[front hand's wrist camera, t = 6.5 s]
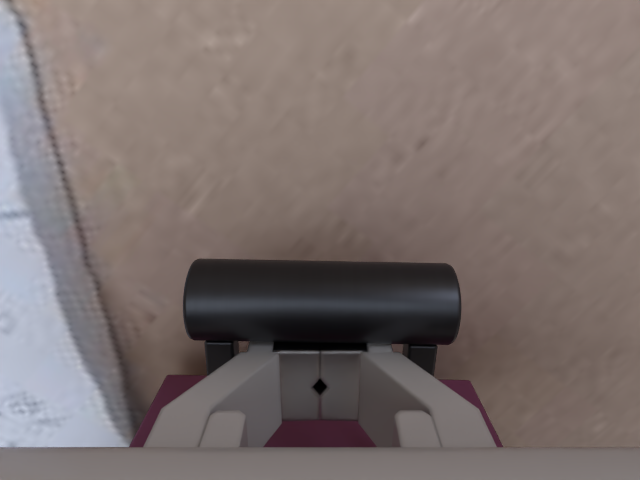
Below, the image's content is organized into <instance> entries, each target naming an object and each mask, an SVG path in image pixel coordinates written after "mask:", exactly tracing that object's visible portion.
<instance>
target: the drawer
mask: <svg viewBox="0 0 640 480" xmlns="http://www.w3.org/2000/svg"><path fill="white" fill-rule="evenodd" d="M183 317H184V324H185V329H186V332H187V334H188V336H189V337H190V338H191V339H193V340H206V341H205V354H206V365H207V376H208V375H209V374H211V373H212V372H214V371H215V370H217V369H218V368H219V367H221V366H222V365H224V364H225V363H226V362H228V361H229V360H231V359H232V358H233V357H235V356H236V355H238V354H239V345H238V341H262V342H317V343H372V344H403V353H402V355H404V356H405V357H407V358H408V359H409V360H411V361H412V362H414V363H415V364H416V365H418V366H419V367H421V368H422V369H423V370H425V371H426V372H428V373H429V374H430V375H432V376H434V369H435V361H436V353H437V345H449V344H451V343H453V342H454V341H455V339H456V337H457V334H458V331H459V326H460V320H461V294H460V287H459V283H458V279H457V276H456V273H455V271H454V269H453V268H452V266H450V265H448V264H446V263H398V262H345V261H292V260H239V259H198V260H195V261H194V262H193V263H192V265H191V267H190V269H189V271H188V274H187V278H186V282H185V287H184V296H183ZM207 376H205V375H167V376H166V378H165V380H164V382H163V384H162V386H161V388H160V389H159V391H158V393H157V395H156V397H155V399H154V401H153V403H152V404H151V406H150V408H149V410H148V412H147V414H146V416H145V418H144V420H143V421H142V423H141V425H140V427H139V429H138V431H137V433H136V435H135V436H134V438H133V440H132V442H131V444H130V446H129V447H143V446H144V444H145V442H146V440H147V438H148V436H149V434H150V432H151V430H152V427H153V425H154V423H155V421H156V419H157V417H158V415H159V413H160V411H161V409H162V408H163V407H164V406H166V405H167V404H169V403H170V402H171V401H173V400H174V399H176V398H177V397H178V396H180V395H181V394H183V393H184V392H186V391H187V390H188V389H190V388H191V387H193V386H194V385H195V384H197V383H198V382H200V381H201V380H202V379H204V378H205V377H207ZM439 381H440V382H442V383H443V384H444V385H446V386H447V387H449V388H450V389H451V390H453V391H454V392H456V393H457V394H458V395H460V396H461V397H463V398H464V399H465V400H467V401H468V402H470V403H471V404H472V405H474V406H475V407H477V408H478V409H479V410H480V412H481V414H482V417H483V419H484V421H485V423H486V425H487V427H488V429H489V431H490V434H491V436H492V438H493V440H494V442H495V444H496V446H497V447H503V446H502V444H501V442H500V440H499V438H498V436H497V434H496V432H495V430H494V428H493V426H492V424H491V422H490V420H489V418H488V416H487V414H486V412H485V410H484V408H483V406H482V404H481V402H480V400H479V398H478V396H477V394H476V392H475V390H474V388H473V386H472V384H471V382H470V381H469V380H439ZM264 447H377V446H376V445H375V444H374V442H373V441H372V440H371V439H370V437H369V436H368V435H367V434H366V432H365V431H364V430H363V429H362V427H361V426H360V425H359V423H358V421H329V420H310V421H282V424H281V425H280V426H279V428H278V429H277V430H276V431H275V433H274V434H273V435H272V437H271V438H270V439H269V440H268V442H267V443H266V444H265V445H264Z"/></svg>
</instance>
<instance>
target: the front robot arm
mask: <svg viewBox="0 0 640 480" xmlns="http://www.w3.org/2000/svg"><path fill="white" fill-rule="evenodd" d="M310 420H329V421H358V423H359V425H360V426H361V427H362V429H363V430H364V431H365V432H366V434H367V435H368V436H369V437H370V439H371V440H372V441H373V442H374V444H375V445H376V446H377V447H264V445H265V444H266V443H267V442H268V440H269V439H270V438H271V437H272V435H273V434H274V433H275V431H276V430H277V429H278V428H279V426H280V425H281V424H282V421H310ZM0 480H640V447H497V446H496V444H495V442H494V440H493V438H492V436H491V434H490V431H489V429H488V427H487V425H486V423H485V421H484V419H483V417H482V414H481V412H480V410H479V409H478V408H477V407H475V406H474V405H472V404H471V403H470V402H468V401H467V400H465V399H464V398H463V397H461V396H460V395H458V394H457V393H456V392H454V391H453V390H451V389H450V388H449V387H447V386H446V385H444V384H443V383H442V382H440V381H439V380H437V379H436V378H435V377H433V376H432V375H430V374H429V373H428V372H426V371H425V370H423V369H422V368H421V367H419V366H418V365H416V364H415V363H414V362H412V361H411V360H409V359H408V358H407V357H405V356H404V355H402V354H401V353H400V352H393V350H392V346H391V344H372V343H317V342H262V341H250V342H249V346H248V350H247V352H240V353H239V354H238V355H236V356H235V357H233V358H232V359H231V360H229V361H228V362H226V363H225V364H224V365H222V366H221V367H219V368H218V369H217V370H215V371H214V372H212V373H211V374H209V375H208V376H207V377H205V378H204V379H202V380H201V381H200V382H198V383H197V384H195V385H194V386H193V387H191V388H190V389H188V390H187V391H186V392H184V393H183V394H181V395H180V396H178V397H177V398H176V399H174V400H173V401H171V402H170V403H169V404H167V405H166V406H164V407H163V408H162V409H161V411H160V413H159V415H158V417H157V419H156V421H155V423H154V425H153V427H152V430H151V432H150V434H149V436H148V438H147V440H146V442H145V444H144V446H143V447H0Z"/></svg>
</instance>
